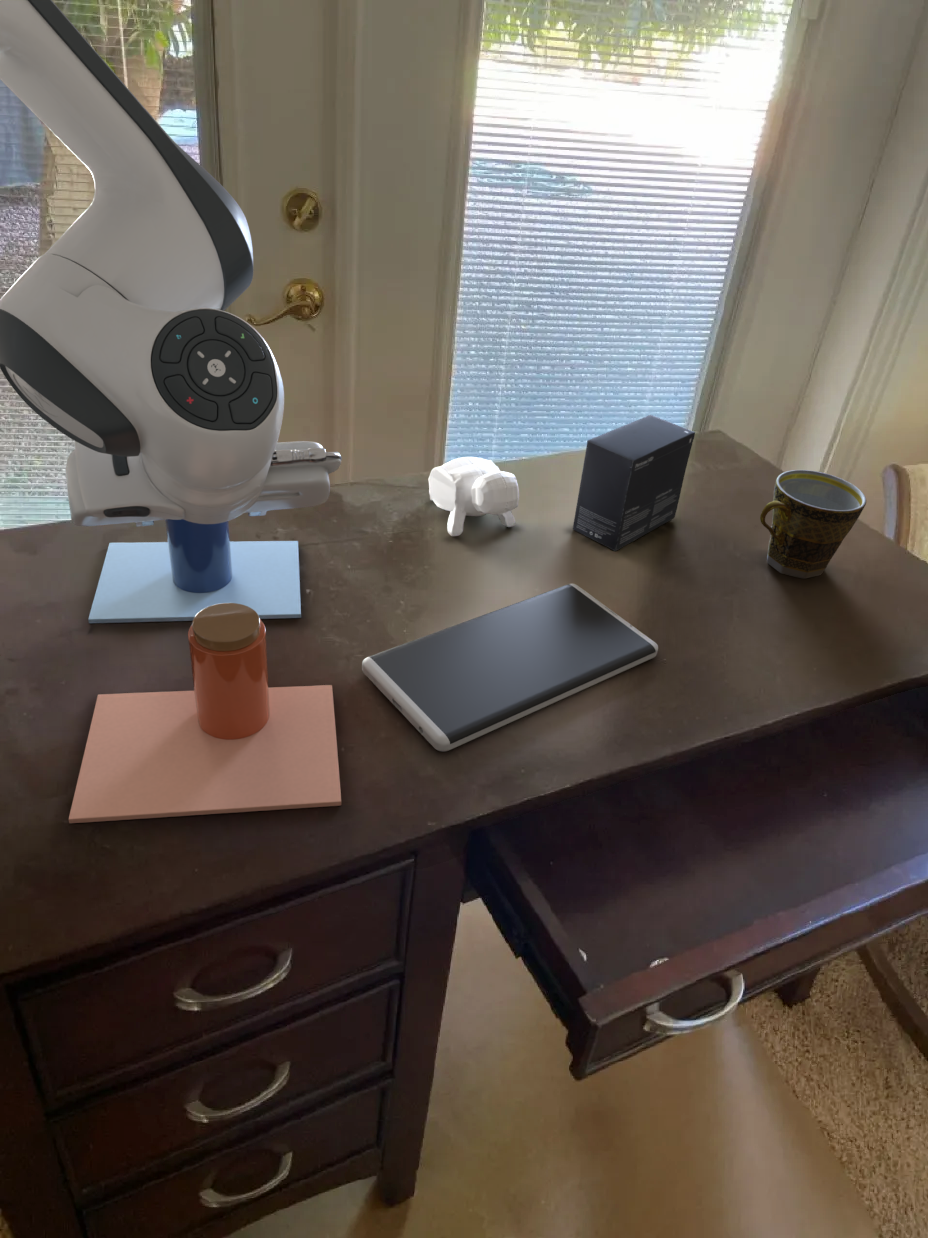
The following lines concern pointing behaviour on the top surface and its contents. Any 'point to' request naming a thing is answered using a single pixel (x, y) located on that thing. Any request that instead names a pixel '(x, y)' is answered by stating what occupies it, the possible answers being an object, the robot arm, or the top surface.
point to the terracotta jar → (229, 670)
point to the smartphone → (506, 664)
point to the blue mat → (148, 594)
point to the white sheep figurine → (473, 491)
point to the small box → (632, 480)
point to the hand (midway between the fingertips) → (200, 512)
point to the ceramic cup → (809, 520)
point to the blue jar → (199, 555)
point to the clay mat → (205, 758)
